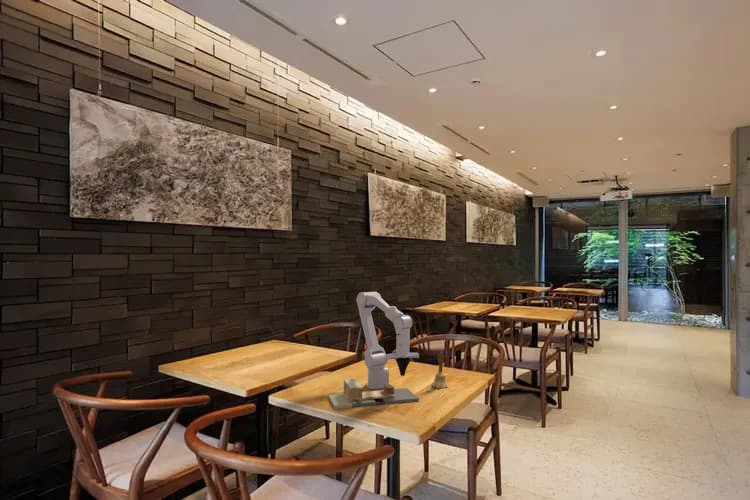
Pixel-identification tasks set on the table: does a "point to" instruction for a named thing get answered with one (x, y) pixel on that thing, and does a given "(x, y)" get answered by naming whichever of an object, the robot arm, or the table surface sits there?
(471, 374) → the table surface
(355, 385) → the tunnel
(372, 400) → the board
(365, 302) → the robot arm
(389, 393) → the sled
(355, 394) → the block
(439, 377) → the hand bell
